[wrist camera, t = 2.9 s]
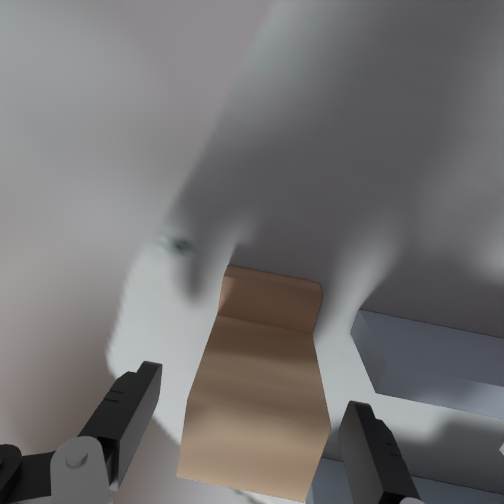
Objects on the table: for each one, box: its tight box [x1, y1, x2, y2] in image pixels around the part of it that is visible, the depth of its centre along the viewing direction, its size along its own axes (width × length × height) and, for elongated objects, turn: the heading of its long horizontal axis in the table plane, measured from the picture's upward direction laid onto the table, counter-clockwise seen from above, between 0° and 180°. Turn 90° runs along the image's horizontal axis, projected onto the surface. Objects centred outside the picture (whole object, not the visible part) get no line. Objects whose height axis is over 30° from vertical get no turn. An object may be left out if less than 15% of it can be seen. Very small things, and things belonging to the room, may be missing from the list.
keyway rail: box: [305, 310, 504, 504], centre depth 14 cm, size 12×15×5 cm
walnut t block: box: [176, 265, 331, 503], centre depth 13 cm, size 8×4×6 cm, turn 170°
